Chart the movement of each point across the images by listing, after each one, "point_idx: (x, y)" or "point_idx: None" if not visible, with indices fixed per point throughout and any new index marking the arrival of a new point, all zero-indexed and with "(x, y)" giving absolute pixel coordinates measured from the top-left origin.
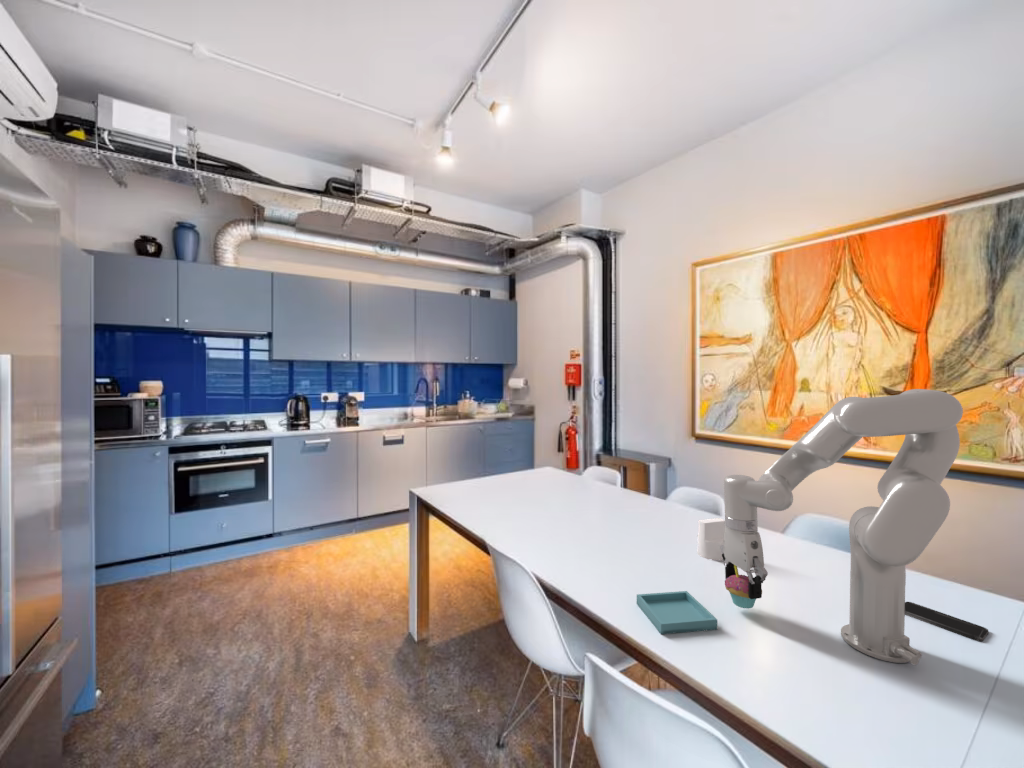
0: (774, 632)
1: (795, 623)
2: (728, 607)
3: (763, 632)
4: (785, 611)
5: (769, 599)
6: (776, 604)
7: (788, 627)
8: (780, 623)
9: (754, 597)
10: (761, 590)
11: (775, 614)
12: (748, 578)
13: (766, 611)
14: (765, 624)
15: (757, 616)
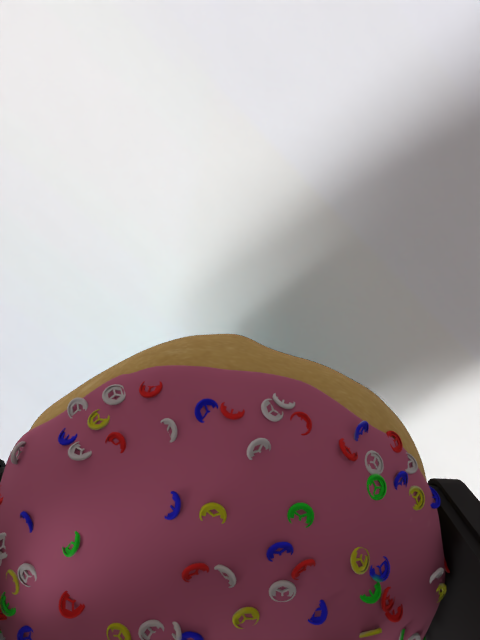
0: (473, 368)
1: (442, 119)
2: None
3: (450, 435)
4: (281, 42)
5: (75, 14)
6: (166, 23)
7: (463, 223)
8: (407, 241)
9: None
10: (400, 432)
11: (300, 177)
12: (267, 630)
13: (248, 216)
14: (386, 358)
15: (291, 340)
